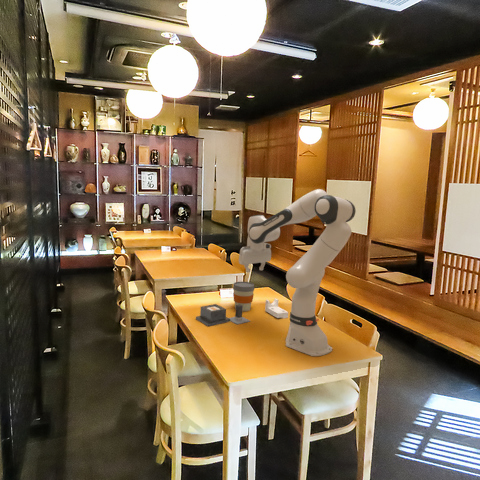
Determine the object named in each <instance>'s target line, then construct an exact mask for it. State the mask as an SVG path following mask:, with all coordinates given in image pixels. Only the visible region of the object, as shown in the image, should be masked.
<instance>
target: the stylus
mask: <svg viewBox="0 0 480 480" xmlns="http://www.w3.org/2000/svg"><path fill="white" fill-rule="evenodd" d="M242 309H243V306H242V305H240V304H239V305H236V309H235V315H234V317H235V319H236V320H238V321H239V320H242V317H243V311H242Z"/></svg>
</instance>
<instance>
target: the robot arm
mask: <svg viewBox="0 0 480 480" xmlns="http://www.w3.org/2000/svg"><path fill="white" fill-rule="evenodd" d="M356 212H357V211H356V207H355V205H354V204H353V202H351V200H349V199H346V198H342V197H340V196H335V195H329V194H328V192H326V190H324V189H322V188H321V189H320V188H317V189H314V190H311V191H310V192H308V193H306V194H304V195H303V196H300V198H298V199H296V200H295V201H294V202H292V203H291V204H289V205H288V206H287V207H285V208H284V209H282V210H281V211H278V212H277V213H276V214H273V215H272V216H270V217H268V218H266V217H265V215H263V214H257V215H251V216H250V217H249V218H248V223H247V234H248V235H247V240H246V246H242V247H241V248H240V250H239V255H238V263H239V264H240V265H242V266H244V269H245V272H246V273H250V272H251V268H249V266H250V265H252V264H259V263H260V266H259V267H258V268H259V271H264V267H265V265H266V262H270V261H271V258H272V250H271V248H272V245H271V244H270V243H268V242H274V241H276V240H278V239H279V238H280V236H281V227H283V226H287V225H294V224H301V223H305V222H308V221H309V220H311V219H313V218H315V217H318V218H319V220H320V222H321V223H322V224H324V225H326V227H325V229H323V232H322V233H321V234H320V236H319V237H318V238H317V239H316V240H315V242H314V243H313V244H312V246H311V247H310V248H309V249H308V250H307V252H305V253H304V254H303V255H302V256H301V257H299V259H298V260H297V261H296V262H295V263H294V264H293V265H292V266H291V267H289V269H287V272H286V274H285V279H286V282H287V284H288V285H289V286H290V287H292V288H293V289H294V293H293V294H292V297H291V307H290V308H291V309H290V313H289V321H290V322H289V327H288V332H287V335H286V338H285V347H286V348H290V349H292V350H295V351H297V352H300V353H303V354H305V355H307V356H311V357H320V356H321V357H322V356H325V355H328V354H329V353H331V352H332V351H333V347H332V346H330V344H328V337H327V335H326V333H325V332H324V331H323V330H322V329H321V327H320V326H319V325H318V321H320V320H319V319H320V318H317V316H316V306H317V305H316V304H317V297H318V295H319V294H318V293H319V290H320V286H321V283H322V280H323V278H324V276H325V273H326V271H325V269H326V268H327V267H328V266H330V264H331V263H332V262H333V261H334V259H335V258H336V257H337V255H339V253H340V252H341V251H342V249H343V248H345V245H346V244H347V243H348V241H349V239H350V237H351V235H352V228H351V225H350V224H348V222H350V221H352V220H353V219H354V217H355V215H356Z"/></svg>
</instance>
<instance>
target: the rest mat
mask: <svg viewBox="0 0 480 480" xmlns="http://www.w3.org/2000/svg"><path fill="white" fill-rule="evenodd" d="M228 318H229V319H230V323H233V324H234V325H237V326H238V325H241V324H245V323H249V322H251V320H250V319H247V318H246V317H243V316H242V320H239V321H238V320H236V319H235V316H232V317H228Z"/></svg>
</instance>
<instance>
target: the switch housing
mask: <svg viewBox="0 0 480 480" xmlns="http://www.w3.org/2000/svg"><path fill="white" fill-rule="evenodd" d="M214 306H215V307H217V308H219V309H218V310H213V311H211V310H209V309H207V308H208V307H214ZM229 318H230V317H227V308H225V307H223V306H222V305H219V304H217V303H214V304H209V305H202V306H200V314H199V315H197V316H195V320H196V321H198V322H200V323H201V324H203V325H204V326H206V327H207V328H208V327H212V326H213V327H214V326H216V325H221V324H226V323H231V321H230V319H229Z"/></svg>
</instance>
